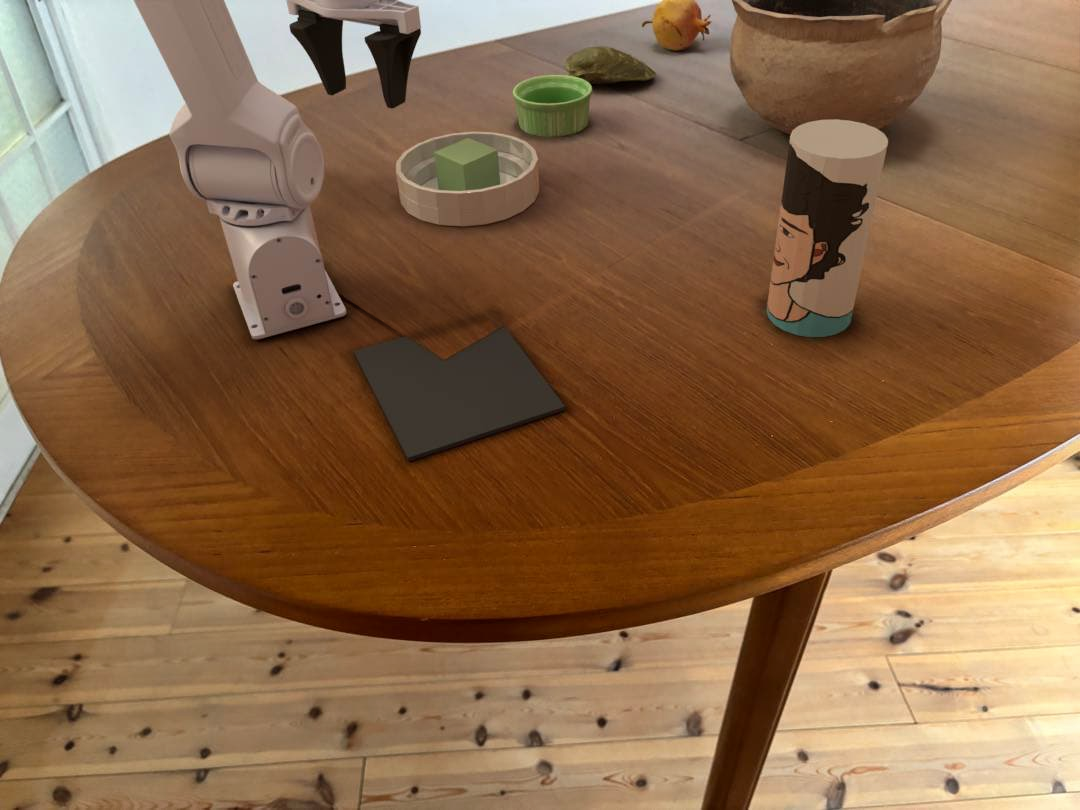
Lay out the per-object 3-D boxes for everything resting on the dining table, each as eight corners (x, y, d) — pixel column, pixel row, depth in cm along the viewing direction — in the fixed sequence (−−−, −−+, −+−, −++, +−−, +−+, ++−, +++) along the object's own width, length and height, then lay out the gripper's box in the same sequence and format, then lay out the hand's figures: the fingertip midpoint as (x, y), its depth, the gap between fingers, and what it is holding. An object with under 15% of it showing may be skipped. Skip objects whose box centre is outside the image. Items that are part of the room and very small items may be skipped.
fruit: (629, 6, 121) (698, 15, 117) (653, -21, 124) (721, -13, 120) (635, 53, 127) (701, 63, 122) (658, 26, 130) (723, 35, 125)
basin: (561, 209, 90) (560, 172, 88) (427, 244, 86) (422, 205, 84) (507, 157, 100) (504, 121, 98) (384, 185, 96) (378, 149, 94)
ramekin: (512, 114, 110) (510, 77, 107) (587, 108, 110) (586, 71, 107) (517, 145, 103) (515, 106, 100) (597, 138, 103) (597, 100, 100)
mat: (565, 410, 67) (565, 406, 66) (408, 461, 63) (407, 457, 63) (493, 315, 77) (492, 311, 76) (354, 354, 73) (353, 350, 73)
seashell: (670, 62, 116) (628, 16, 108) (649, 116, 115) (605, 73, 108) (608, 62, 122) (565, 18, 115) (588, 112, 122) (543, 72, 115)
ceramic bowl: (843, 188, 91) (871, 33, 82) (679, 128, 104) (687, -12, 95) (960, 122, 102) (997, -21, 93) (799, 75, 115) (816, -55, 106)
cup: (797, 282, 78) (824, 112, 69) (867, 312, 75) (906, 136, 65) (749, 314, 75) (771, 140, 66) (820, 347, 71) (854, 167, 62)
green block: (501, 191, 93) (497, 149, 90) (467, 207, 91) (463, 165, 88) (472, 178, 96) (468, 137, 93) (438, 193, 93) (433, 152, 90)
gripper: (433, -57, 80) (449, 96, 89) (311, -71, 87) (337, 73, 95) (382, -37, 76) (404, 122, 85) (257, -53, 82) (290, 96, 91)
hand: (366, 98), depth 90 cm, fingers open, 7 cm apart
